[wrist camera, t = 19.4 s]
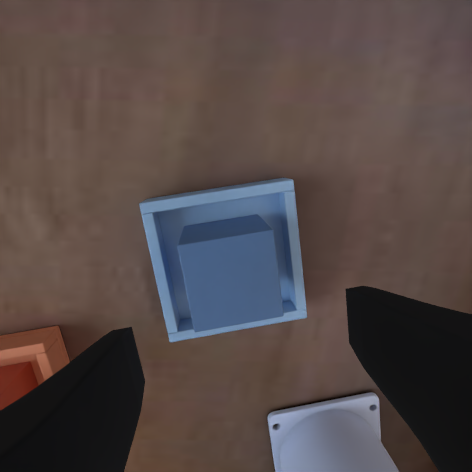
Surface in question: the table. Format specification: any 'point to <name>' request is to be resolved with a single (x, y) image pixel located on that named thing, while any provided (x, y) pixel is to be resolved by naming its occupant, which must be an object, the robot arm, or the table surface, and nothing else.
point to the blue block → (230, 272)
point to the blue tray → (214, 209)
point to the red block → (16, 382)
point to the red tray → (35, 351)
